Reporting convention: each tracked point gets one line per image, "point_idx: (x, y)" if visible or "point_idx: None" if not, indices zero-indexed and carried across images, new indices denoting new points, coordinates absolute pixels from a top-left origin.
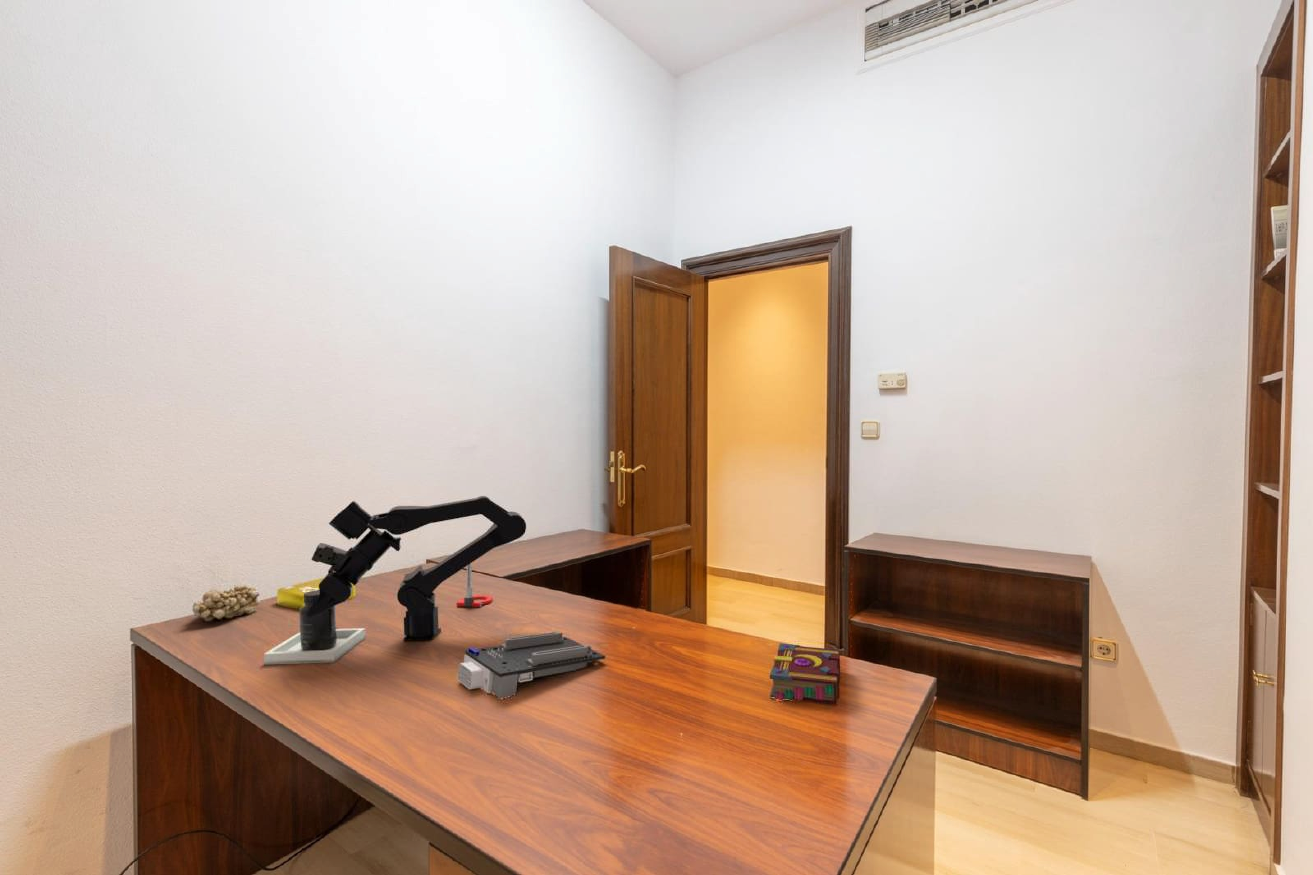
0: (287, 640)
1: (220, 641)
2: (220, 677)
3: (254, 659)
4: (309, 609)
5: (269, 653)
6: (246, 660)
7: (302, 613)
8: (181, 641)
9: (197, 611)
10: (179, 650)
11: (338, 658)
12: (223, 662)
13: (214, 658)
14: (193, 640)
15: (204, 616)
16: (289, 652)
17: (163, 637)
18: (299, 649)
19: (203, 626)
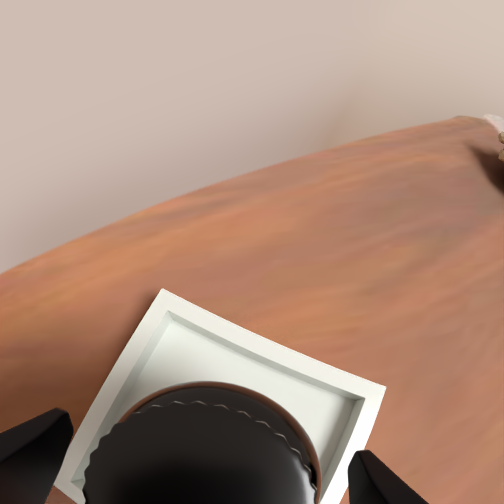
0: (279, 350)
1: (420, 192)
2: (141, 217)
3: (238, 273)
4: (26, 422)
5: (155, 303)
6: (242, 254)
7: (143, 398)
8: (428, 144)
9: (501, 142)
10: (381, 141)
11: None
12: (258, 208)
13: (302, 189)
14: (431, 157)
15: (499, 156)
16: (123, 363)
17: (448, 129)
18: None
19: (493, 170)
